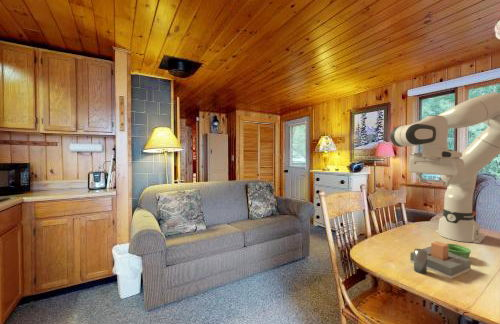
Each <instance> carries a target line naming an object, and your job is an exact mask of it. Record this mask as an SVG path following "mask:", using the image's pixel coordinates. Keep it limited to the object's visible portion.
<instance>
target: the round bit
mask: <svg viewBox="0 0 500 324" xmlns="http://www.w3.org/2000/svg"><path fill="white" fill-rule="evenodd" d="M423 249H424V248H414V250H413V252H414V264H413V271H414V272H416V273H417V274H422V275H427V274H428V269H427V251H425V250H423Z"/></svg>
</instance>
